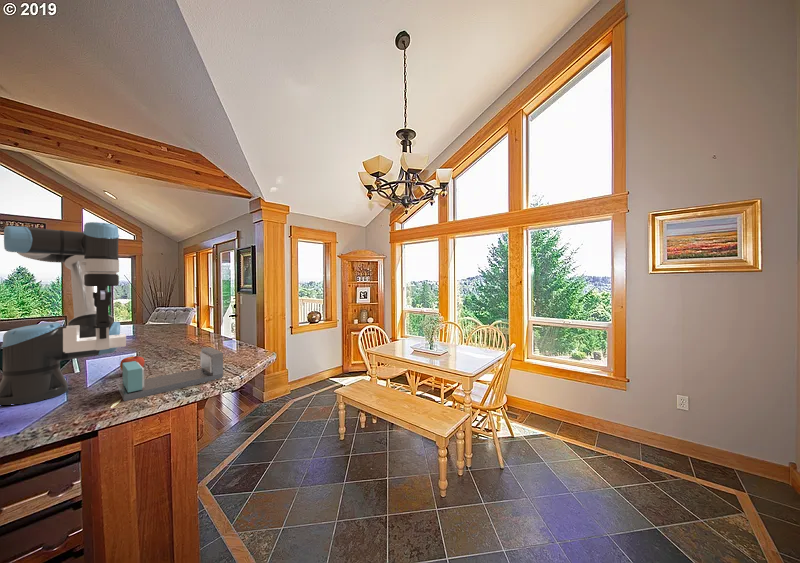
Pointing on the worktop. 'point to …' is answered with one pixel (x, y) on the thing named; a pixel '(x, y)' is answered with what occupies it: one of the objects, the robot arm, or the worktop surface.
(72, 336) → the bracket
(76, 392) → the worktop surface
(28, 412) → the worktop surface
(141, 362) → the apple
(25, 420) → the worktop surface
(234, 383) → the worktop surface
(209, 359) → the block
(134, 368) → the block
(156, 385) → the vise base
